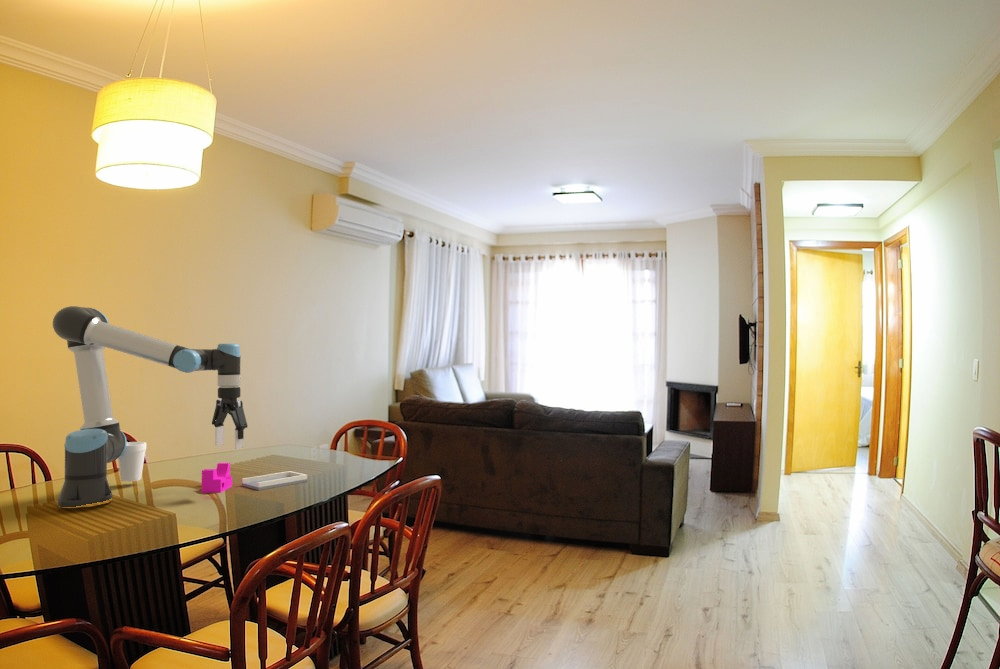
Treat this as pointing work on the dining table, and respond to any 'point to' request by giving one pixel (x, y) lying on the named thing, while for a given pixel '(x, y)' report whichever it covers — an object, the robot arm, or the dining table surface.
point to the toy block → (216, 479)
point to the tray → (274, 480)
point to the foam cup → (132, 461)
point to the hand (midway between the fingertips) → (229, 446)
